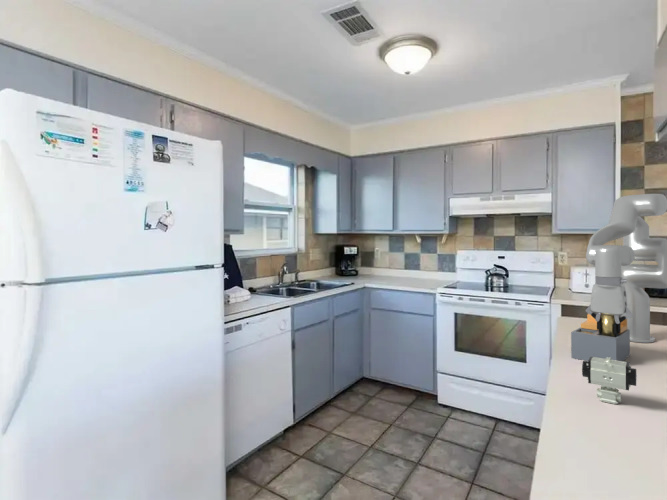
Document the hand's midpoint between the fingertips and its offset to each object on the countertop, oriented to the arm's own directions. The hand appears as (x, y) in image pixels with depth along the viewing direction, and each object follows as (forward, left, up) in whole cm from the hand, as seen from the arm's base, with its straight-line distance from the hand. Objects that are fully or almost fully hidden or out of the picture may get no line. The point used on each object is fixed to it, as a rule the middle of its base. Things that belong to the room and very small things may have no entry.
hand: (608, 332), depth 136 cm
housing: (-4, -3, -10) cm, 11 cm away
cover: (-8, -3, 0) cm, 9 cm away
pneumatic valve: (+38, +10, -10) cm, 41 cm away
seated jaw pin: (0, -7, -10) cm, 12 cm away
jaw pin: (0, 0, -3) cm, 3 cm away
